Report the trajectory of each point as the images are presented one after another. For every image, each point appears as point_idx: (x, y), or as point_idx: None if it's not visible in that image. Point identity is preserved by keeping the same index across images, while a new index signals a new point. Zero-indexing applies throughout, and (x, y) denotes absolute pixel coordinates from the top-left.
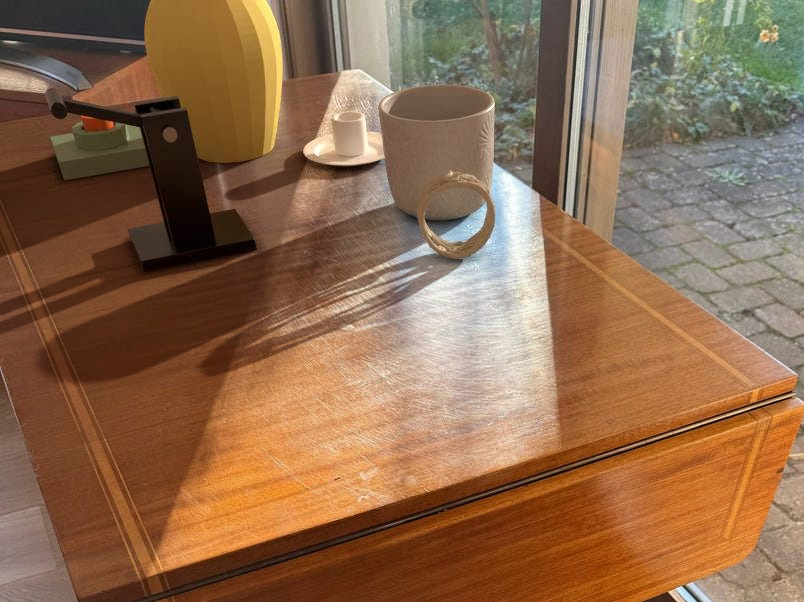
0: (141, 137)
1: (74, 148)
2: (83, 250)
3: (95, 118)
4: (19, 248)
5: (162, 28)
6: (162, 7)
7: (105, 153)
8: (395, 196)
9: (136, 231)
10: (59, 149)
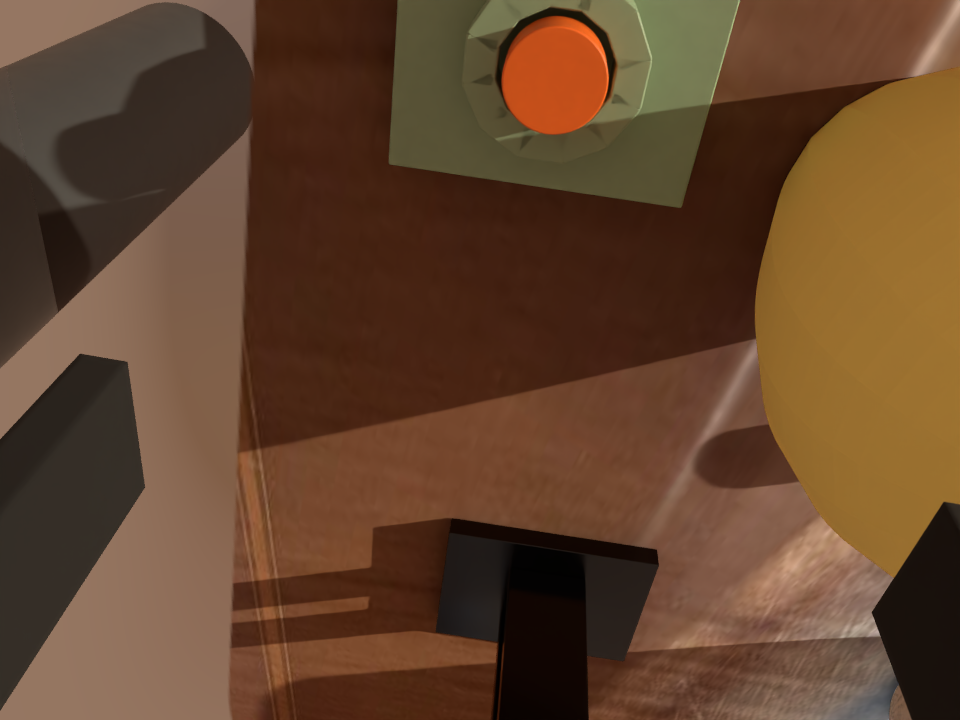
0: (672, 108)
1: (455, 73)
2: (364, 508)
3: (539, 131)
4: (254, 442)
5: (822, 497)
6: (879, 519)
7: (526, 180)
8: (893, 712)
9: (461, 549)
10: (410, 51)
